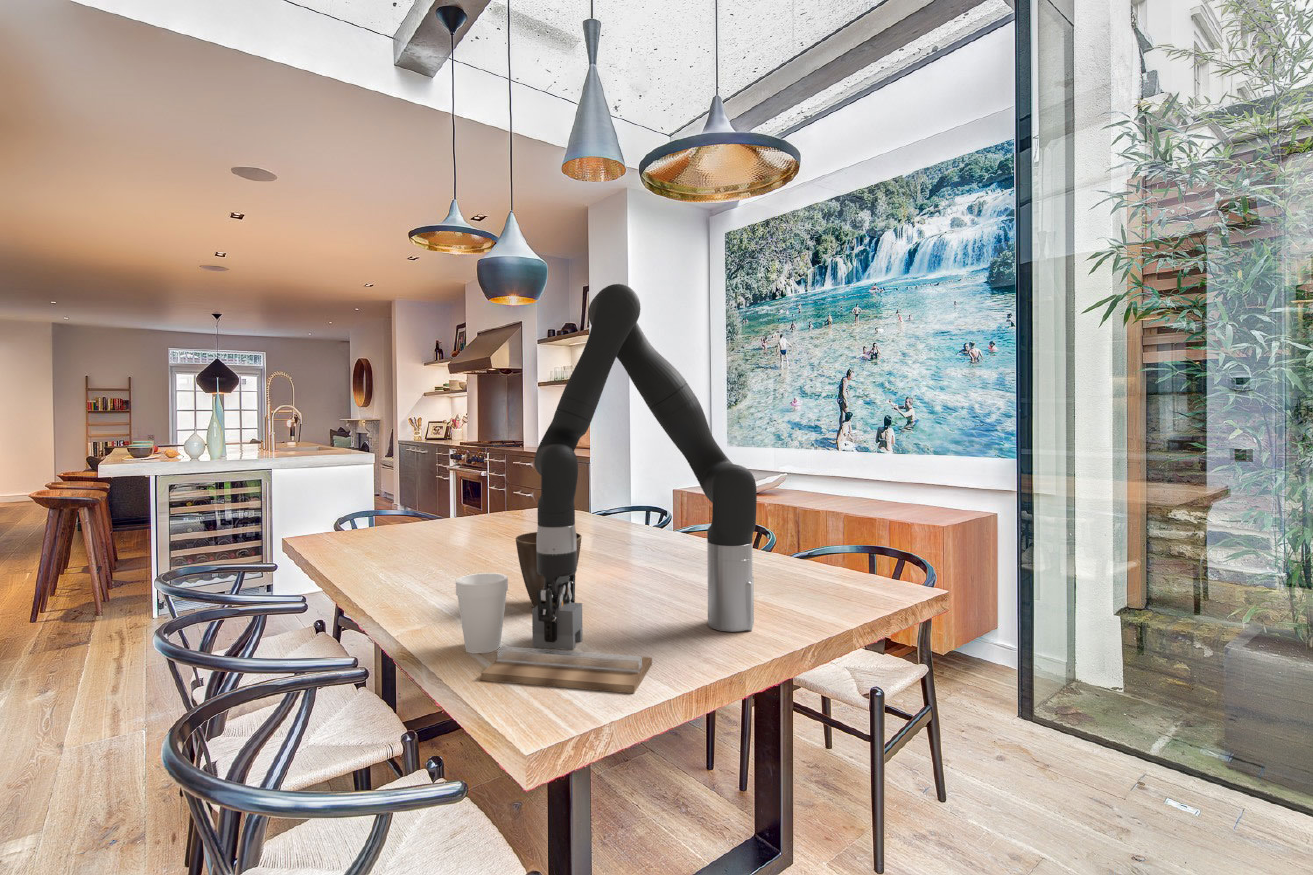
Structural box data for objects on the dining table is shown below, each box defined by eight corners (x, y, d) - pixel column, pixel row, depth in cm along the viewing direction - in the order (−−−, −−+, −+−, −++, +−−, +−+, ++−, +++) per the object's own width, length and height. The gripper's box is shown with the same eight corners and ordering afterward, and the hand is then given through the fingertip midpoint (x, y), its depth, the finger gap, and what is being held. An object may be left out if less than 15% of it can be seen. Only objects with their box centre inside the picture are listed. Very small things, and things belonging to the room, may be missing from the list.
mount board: (651, 664, 112) (651, 657, 112) (634, 693, 100) (634, 685, 100) (512, 653, 118) (512, 647, 118) (480, 679, 106) (480, 672, 106)
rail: (642, 667, 108) (642, 655, 108) (638, 673, 105) (638, 661, 105) (503, 656, 113) (503, 645, 113) (496, 662, 110) (496, 650, 110)
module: (582, 640, 125) (582, 599, 125) (572, 649, 120) (572, 606, 120) (543, 637, 127) (543, 596, 127) (532, 646, 122) (532, 604, 121)
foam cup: (481, 660, 115) (479, 587, 114) (445, 650, 120) (444, 581, 119) (519, 644, 123) (518, 576, 122) (484, 636, 128) (483, 570, 127)
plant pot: (594, 607, 146) (593, 537, 146) (533, 620, 138) (532, 545, 137) (563, 593, 159) (563, 528, 158) (506, 604, 150) (505, 535, 149)
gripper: (561, 556, 115) (562, 650, 115) (587, 541, 129) (588, 624, 129) (522, 555, 117) (523, 647, 117) (552, 540, 131) (553, 622, 131)
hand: (557, 635), depth 123 cm, fingers open, 6 cm apart
